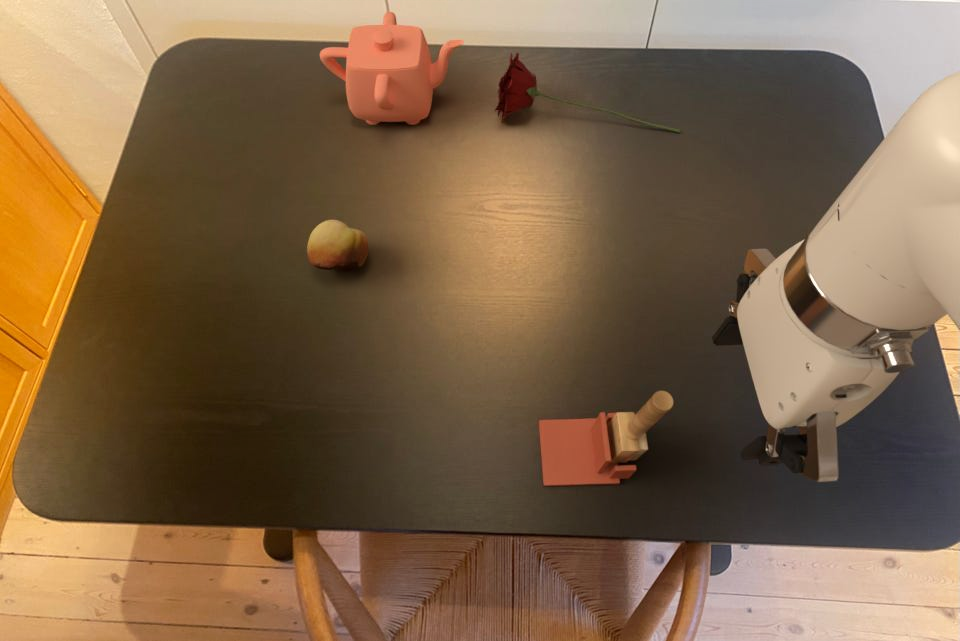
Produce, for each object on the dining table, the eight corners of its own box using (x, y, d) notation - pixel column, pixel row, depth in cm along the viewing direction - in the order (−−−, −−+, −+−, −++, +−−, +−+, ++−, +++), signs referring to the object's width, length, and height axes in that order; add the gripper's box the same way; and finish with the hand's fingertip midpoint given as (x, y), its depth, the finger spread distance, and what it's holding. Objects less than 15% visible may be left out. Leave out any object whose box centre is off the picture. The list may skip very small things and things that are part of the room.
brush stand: (620, 418, 75) (631, 401, 69) (629, 483, 72) (642, 470, 66) (538, 421, 75) (543, 403, 69) (543, 486, 72) (548, 473, 66)
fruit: (382, 270, 85) (372, 237, 78) (328, 297, 84) (314, 266, 76) (358, 232, 88) (347, 198, 81) (306, 257, 86) (290, 224, 79)
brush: (674, 378, 58) (644, 378, 58) (682, 422, 56) (651, 422, 56) (630, 425, 72) (605, 426, 72) (635, 462, 70) (610, 462, 70)
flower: (695, 132, 90) (500, 80, 87) (663, 178, 99) (486, 132, 97) (695, 82, 95) (510, 31, 92) (665, 129, 104) (496, 84, 102)
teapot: (328, 106, 100) (307, 37, 88) (397, 57, 105) (386, -15, 93) (398, 158, 95) (385, 93, 83) (467, 104, 100) (464, 35, 88)
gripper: (996, 434, 29) (823, 504, 44) (873, 163, 37) (763, 300, 53) (842, 441, 29) (722, 508, 44) (752, 168, 37) (677, 304, 52)
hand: (744, 395), depth 48 cm, fingers open, 9 cm apart
